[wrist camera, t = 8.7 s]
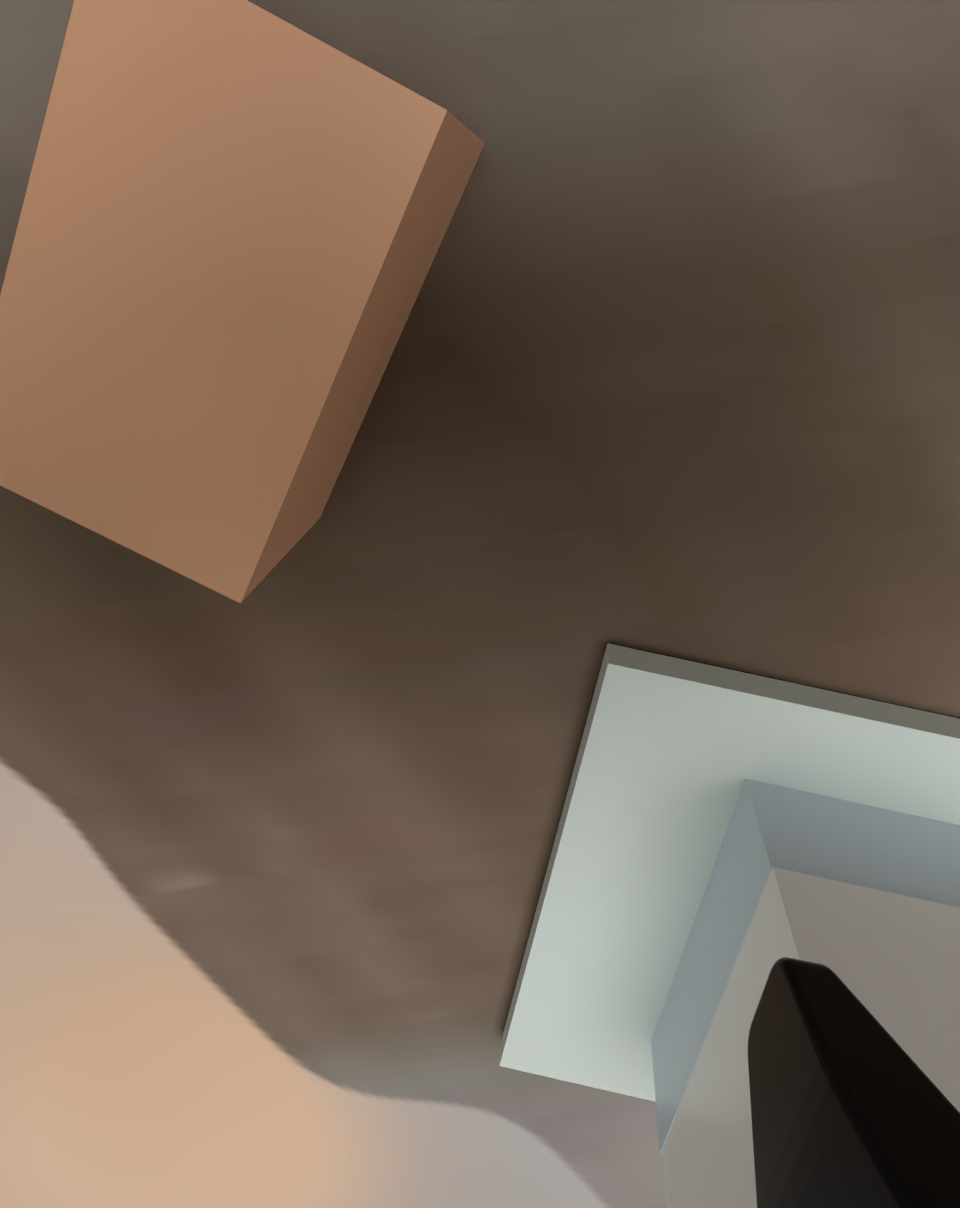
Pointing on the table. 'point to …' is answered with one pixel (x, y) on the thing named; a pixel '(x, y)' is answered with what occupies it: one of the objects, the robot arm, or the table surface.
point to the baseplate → (710, 854)
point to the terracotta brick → (212, 277)
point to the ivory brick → (865, 965)
